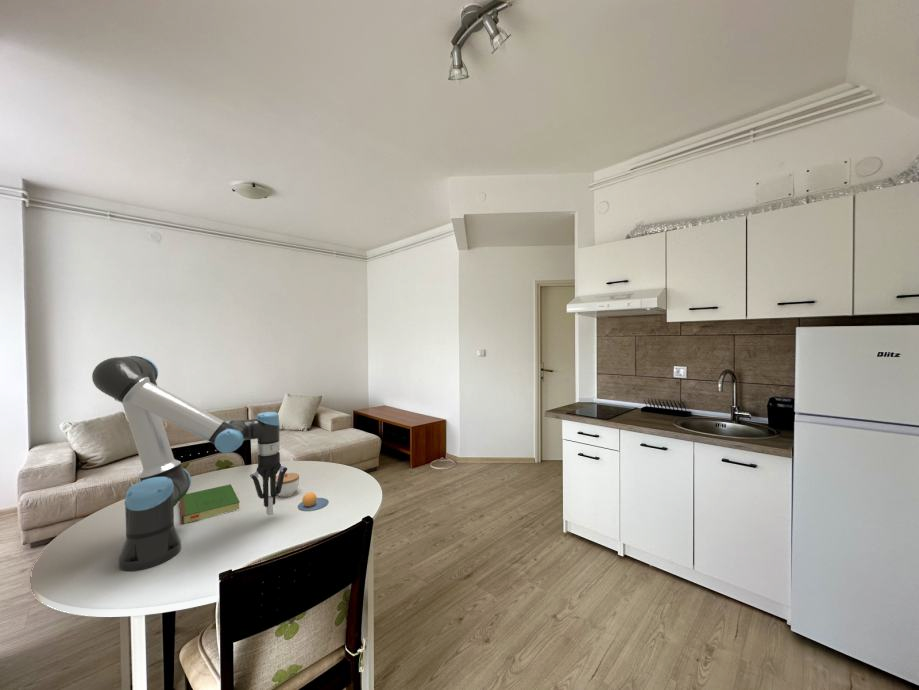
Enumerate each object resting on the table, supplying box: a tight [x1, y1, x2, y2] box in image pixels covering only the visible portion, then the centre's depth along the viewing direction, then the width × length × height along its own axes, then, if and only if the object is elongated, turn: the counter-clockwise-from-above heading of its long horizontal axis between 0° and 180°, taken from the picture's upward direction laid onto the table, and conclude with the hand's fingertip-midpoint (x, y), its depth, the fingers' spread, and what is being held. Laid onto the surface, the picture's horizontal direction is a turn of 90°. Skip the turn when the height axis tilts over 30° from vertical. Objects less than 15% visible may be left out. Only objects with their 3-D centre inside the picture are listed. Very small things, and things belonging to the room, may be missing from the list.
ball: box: [301, 491, 318, 507], centre depth 151 cm, size 6×6×6 cm
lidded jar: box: [276, 472, 300, 498], centre depth 163 cm, size 11×11×9 cm
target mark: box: [297, 497, 330, 512], centre depth 153 cm, size 12×12×1 cm
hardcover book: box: [178, 484, 240, 525], centre depth 152 cm, size 25×19×4 cm
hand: (269, 513), depth 141 cm, fingers closed
